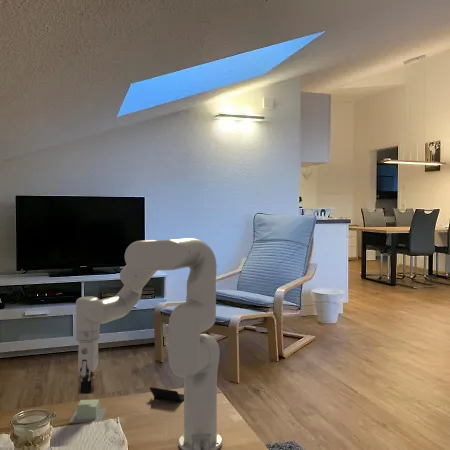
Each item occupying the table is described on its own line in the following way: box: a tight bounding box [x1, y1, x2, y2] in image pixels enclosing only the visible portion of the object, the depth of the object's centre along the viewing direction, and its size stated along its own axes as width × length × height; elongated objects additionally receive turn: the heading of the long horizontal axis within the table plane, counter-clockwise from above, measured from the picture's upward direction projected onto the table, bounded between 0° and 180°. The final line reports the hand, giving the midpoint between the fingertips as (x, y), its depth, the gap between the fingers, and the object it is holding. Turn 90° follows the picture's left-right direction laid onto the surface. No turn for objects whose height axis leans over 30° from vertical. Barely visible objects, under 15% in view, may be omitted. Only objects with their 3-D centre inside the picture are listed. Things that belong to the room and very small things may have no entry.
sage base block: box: [76, 399, 100, 420], centre depth 153 cm, size 6×6×4 cm
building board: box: [68, 408, 107, 424], centre depth 153 cm, size 10×10×1 cm
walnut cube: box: [77, 372, 98, 395], centre depth 153 cm, size 5×5×5 cm
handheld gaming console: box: [149, 386, 184, 404], centre depth 168 cm, size 12×7×10 cm
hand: (87, 389), depth 153 cm, fingers closed on walnut cube, 5 cm apart
